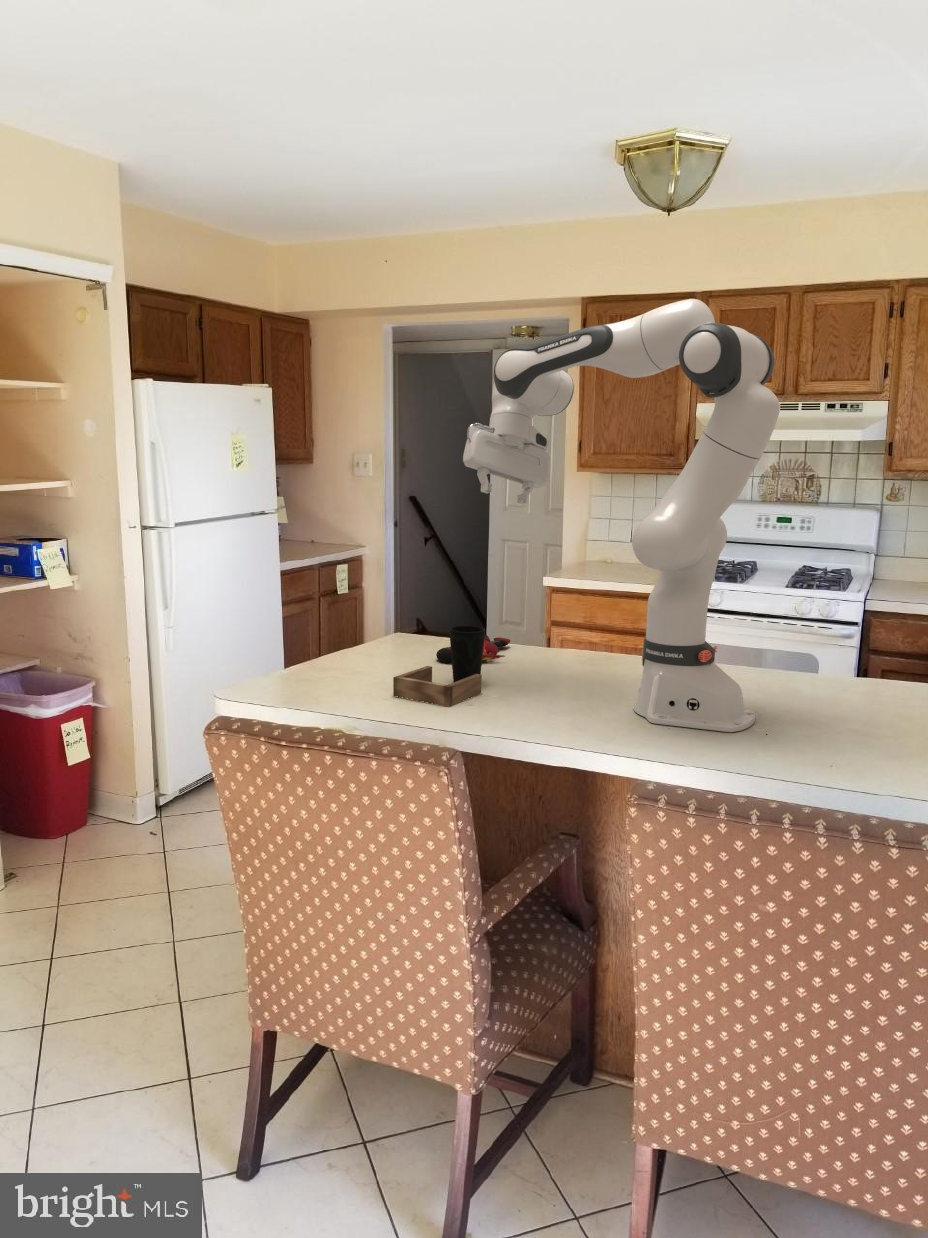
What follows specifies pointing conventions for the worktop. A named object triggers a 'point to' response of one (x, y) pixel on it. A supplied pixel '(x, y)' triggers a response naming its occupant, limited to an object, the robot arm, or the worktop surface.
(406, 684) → the bay
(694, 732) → the worktop surface
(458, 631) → the cup
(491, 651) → the toy motorcycle
